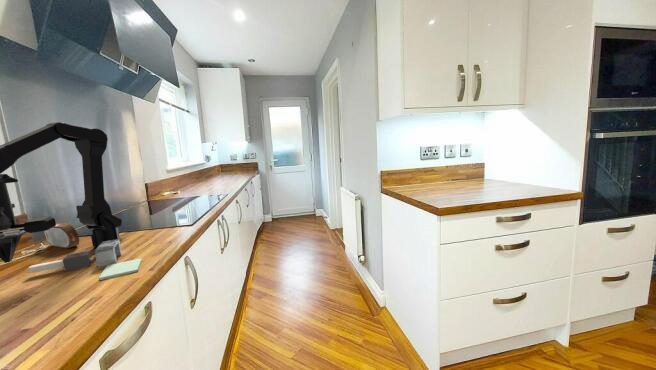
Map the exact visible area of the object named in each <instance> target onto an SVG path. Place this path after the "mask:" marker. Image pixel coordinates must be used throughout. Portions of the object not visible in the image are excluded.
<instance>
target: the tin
mask: <svg viewBox="0 0 656 370" xmlns="http://www.w3.org/2000/svg"><path fill="white" fill-rule="evenodd" d="M42 233H44V237H45V240H46V242H47V243H48V244H49V245H50V246H52V247H54V248H61V249H71V248H73V247H76V246H79V245H80V244H79V243H80V235H79V234H78V231H77V230H76V228H75V227H74V226H73V225H71V224H69V223H63V222H56V225H55V226H54V227H52V228H50V229H49V230H46V231H42Z"/></svg>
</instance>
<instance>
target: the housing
mask: <svg viewBox="0 0 656 370" xmlns="http://www.w3.org/2000/svg"><path fill="white" fill-rule="evenodd" d="M121 246H122V245H121V241H120V240H119V239H115V240H110V241H104V242H102V243H101V244H100V245H99V246H98V247H97V249H94V255H95V260H96V265H97V268H101V267H105V266H107V265H112V264H117V263H118V259H117V257H120V256H121V255H122V254H123V250H122V247H121Z"/></svg>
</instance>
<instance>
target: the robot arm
mask: <svg viewBox="0 0 656 370" xmlns="http://www.w3.org/2000/svg"><path fill="white" fill-rule="evenodd" d="M59 139H62V140H65V141H67V142H73V143H74V145H75V149H76V150H77V152H79V155H80V156H81V162H82V163H81V164H82V173H83V174H82V175H83V176H82V177H83V190H84V192H83V193H84V201H83V202H82V204H81V205H76V212H77V215H76V219H78V220H79V222H80V223H81V224H82V225H84V226H86V228H87V229H88V230H91V234H90V238H91V242H92V243H91V244H92V247H93V250H96V249H97V247H98V246H99V245H100V244H101V243H102V242H104V241H110V240H115V239H119V240H120V242H121V241H122V240H123V239H122V238H121V237H120V236H121V235H120V231H119V227H121V226H122V222H123V220H122V219H121V218H119V217H117V216H115V215H113V213H112V212H113V211H112V209H111V206H110V204H109V202H108V201H107V200H106V198H105V186H104V185H105V184H104V168H103V155H104V153H105V152H106V150H107V147H108V139H109V138H108V135H107V133H106V132H104V131H103V130H101V129H99V128H87V127H82V126H78V125H72V124H69V123H65V122H60V121H59V122H50V123H48V124H47V123H46V125H44V126H42V127H40V128H38V129H36V130H33V131H31V132H28V133H26V134H24V135H22V136H18V137H16V138H15V139H12V140H10V141H8V142H5V143H3V144H0V260H1V261H2V262H4V263H10V262H12V261H13V259H14V256H15V252H16V250H17V247H18V244H19V242H20V240H21V238H22V236H24V235H25V234H33V233H34V234H35V233H41V232H43V231H46V230H49V229H50V228H52V227H54V226H55V225H56V223H57V222H56V219H55V218H54V217H53V216H51V215H50V216H41V217H36V218H32V219H29V220H27V221H24V222H22V223H20V220H19V218H16V216H15V212H14V210H13V209H14V208H16V205H15V203H12V201H11V198H10V193H9V190H8V186H7V185H8V184H12V183H17V182H18V181H19V180H18V179H17V178H14V177H12V176H10V175H8V174H7V173H4V172H5V171H8V169H9V168H11V167H13V166H14V164H15V163H16V162H17V161H18V160H19V159H20V158H22V157H23V156H26V155H27V154H29V153H32V152H34V151H36V150H38V149H40V148H42V147H44V146H46V145H48V144H50V143H52V142H54V141H57V140H59Z"/></svg>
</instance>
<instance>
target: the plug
mask: <svg viewBox="0 0 656 370" xmlns="http://www.w3.org/2000/svg"><path fill="white" fill-rule="evenodd" d="M94 259H96V255H95V254H94V255H92V250H87V251H81V252H75V253H70V254H67V255H66V256H65V257H64V258H62V259H59V260H53V261H47V262H43V263H39V264H32V265H29V267H28V268H27V269H28V273H29V274H34V273H40V272H43V271H49V270H55V269H59V268H64V272H69V271H75V270H79V269H80V270H81V269H84V268H85V269H86V268H89V267H90V266H91V265H92V264H93V262H94Z"/></svg>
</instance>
